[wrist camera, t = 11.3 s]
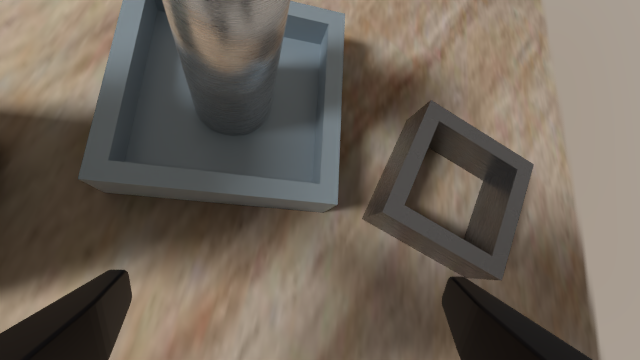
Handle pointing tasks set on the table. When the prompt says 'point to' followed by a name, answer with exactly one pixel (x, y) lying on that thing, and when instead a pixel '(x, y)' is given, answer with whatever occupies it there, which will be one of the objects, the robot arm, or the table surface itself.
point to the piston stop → (229, 58)
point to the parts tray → (206, 144)
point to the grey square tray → (491, 206)
